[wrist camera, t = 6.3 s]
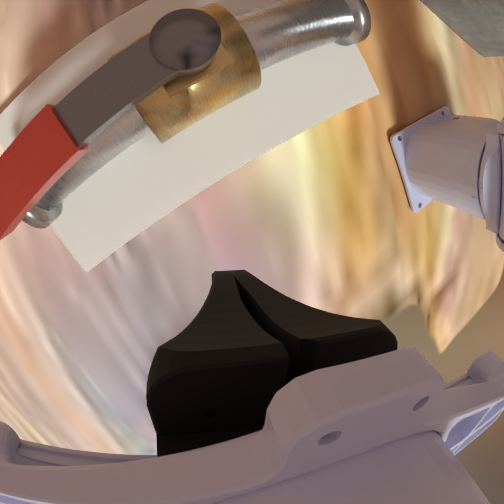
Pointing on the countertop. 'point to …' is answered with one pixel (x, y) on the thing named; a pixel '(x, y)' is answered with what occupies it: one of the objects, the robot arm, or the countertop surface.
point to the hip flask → (474, 22)
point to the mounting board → (190, 139)
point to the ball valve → (215, 80)
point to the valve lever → (100, 107)
